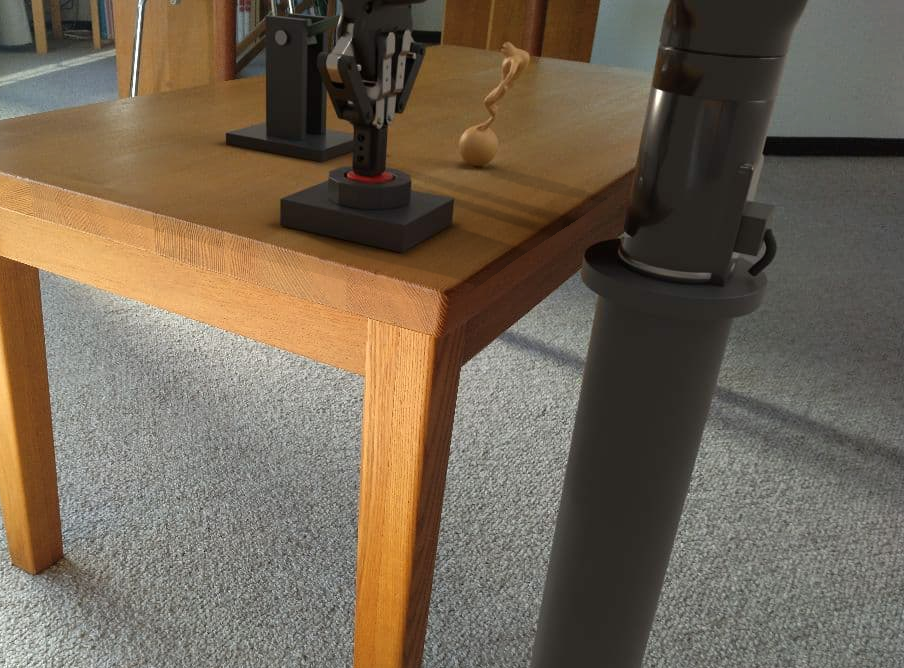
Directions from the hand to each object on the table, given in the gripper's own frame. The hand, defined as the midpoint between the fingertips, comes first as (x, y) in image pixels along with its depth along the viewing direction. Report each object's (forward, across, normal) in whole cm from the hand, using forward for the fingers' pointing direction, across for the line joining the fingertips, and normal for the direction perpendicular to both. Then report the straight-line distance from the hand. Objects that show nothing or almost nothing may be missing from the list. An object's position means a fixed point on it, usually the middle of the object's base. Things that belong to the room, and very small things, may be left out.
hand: (368, 173), depth 70 cm
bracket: (+4, +20, +20) cm, 28 cm away
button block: (+4, 0, 0) cm, 4 cm away
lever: (-7, +20, +15) cm, 26 cm away
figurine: (+4, +25, 0) cm, 25 cm away
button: (+2, 0, 0) cm, 2 cm away
